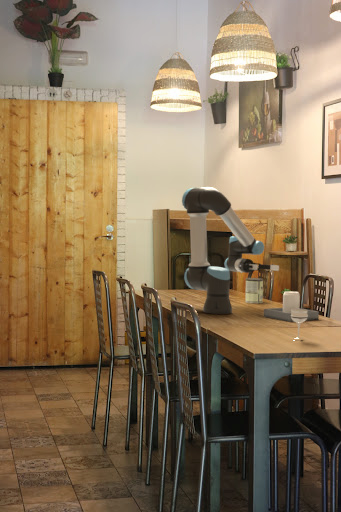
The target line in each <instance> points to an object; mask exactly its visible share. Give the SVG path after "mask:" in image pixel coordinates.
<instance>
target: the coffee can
mask: <svg viewBox="0 0 341 512" xmlns="http://www.w3.org/2000/svg"><path fill="white" fill-rule="evenodd" d="M263 291H264V279H263V278H262V277H261V278H259V277H246V278H245V299H244V301H245V303H247V304H263V303H264V301H263V298H264V296H263V295H264V292H263Z"/></svg>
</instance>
